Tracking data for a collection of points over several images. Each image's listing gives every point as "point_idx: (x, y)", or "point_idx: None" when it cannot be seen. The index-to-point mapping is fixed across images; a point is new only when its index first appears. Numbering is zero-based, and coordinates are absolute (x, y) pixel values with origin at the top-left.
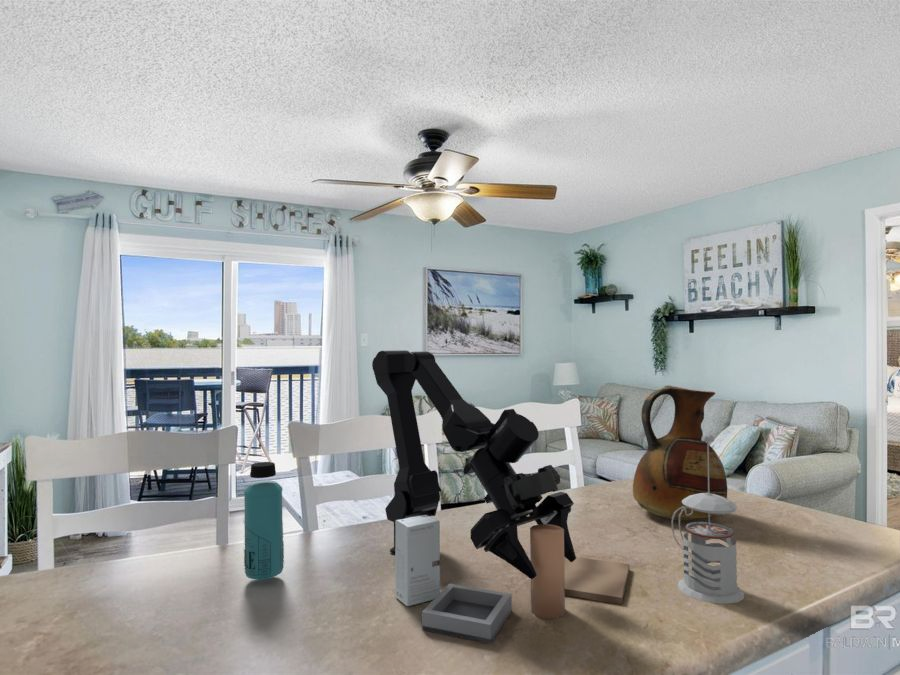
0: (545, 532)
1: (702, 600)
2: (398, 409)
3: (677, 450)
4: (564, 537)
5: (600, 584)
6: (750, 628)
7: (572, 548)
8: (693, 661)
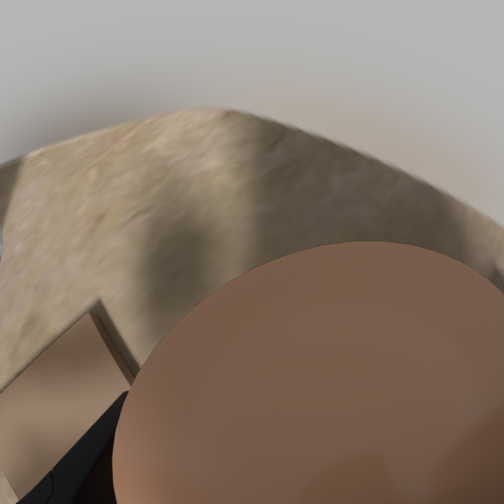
0: (462, 388)
1: (1, 243)
2: None
3: None
4: (90, 485)
5: (75, 402)
6: (44, 153)
7: (101, 422)
8: (185, 109)
